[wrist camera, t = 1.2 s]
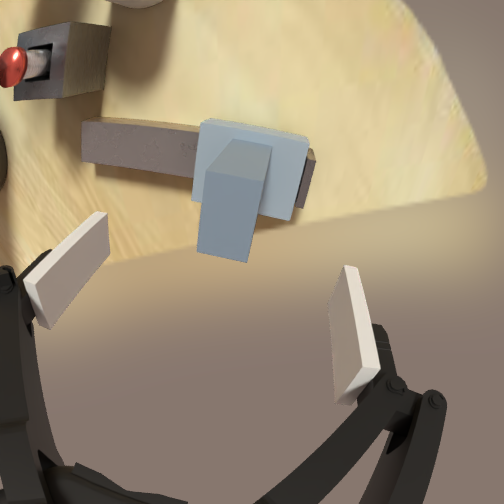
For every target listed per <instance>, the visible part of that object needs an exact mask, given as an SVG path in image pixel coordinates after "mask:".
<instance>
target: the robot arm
mask: <svg viewBox="0 0 504 504" xmlns="http://www.w3.org/2000/svg"><path fill="white" fill-rule="evenodd" d="M6 172H7V156H6V149H5V144H4V140H3V137H2V134H1V132H0V190H1V188H2V187H3V184H4V182H5V178H6ZM109 255H110V245H109V232H108V216H107V213H104V212H99V211H96V212H95V213H93V214H92V215H91V216H90V217H89V218H88V219H86V220H85V221H84V222H83V223H82V224H81V225H80V226H78V227H77V228H76V229H75V230H74V231H73V232H72V233H71V234H70V235H68V236H67V237H66V238H65V239H64V240H63V241H62V242H61V243H60V244H59V245H58V246H57V247H56V248H54V249H53V250H52V249H49V250H47V251H45V252H44V253H42V254H41V255H40V256H39V257H38V258H37V259H36V260H34V261H33V262H32V263H31V265H29V266H28V267H27V268H26V269H25V270H24V271H23V272H22V273H21V274H20V275H19V276H18V277H17V278H16V276H15V273H14V269H13V268H12V267H11V266H8V265H6V266H1V267H0V476H1V480H2V484H3V489H1V490H0V504H188V502H186V501H182V500H178V499H175V498H170V497H167V496H164V495H160V494H152V493H142V492H132V491H127V490H125V489H123V488H122V487H120V486H118V485H117V484H115V483H114V482H112V481H111V480H109V479H108V478H107V477H105V476H104V475H102V474H101V473H99V472H96V471H94V470H92V469H89V468H87V467H85V466H83V465H81V464H79V463H77V462H76V463H75V466H65V465H64V462H63V460H62V458H61V457H60V455H59V453H58V451H57V449H56V446H55V443H54V439H53V436H52V432H51V428H50V424H49V420H48V416H47V412H46V407H45V402H44V398H43V392H42V387H41V382H40V376H39V370H38V363H37V355H36V348H35V338H34V327H33V323H32V320H33V319H34V317H35V316H36V319H37V321H38V324H39V325H40V326H43V327H45V328H47V329H49V330H51V328H52V327H53V326H54V324H55V323H56V322H57V320H58V319H59V317H60V316H61V315H62V313H63V312H64V311H65V309H66V308H67V307H68V306H69V304H70V303H71V302H72V300H73V299H74V298H75V296H76V295H77V294H78V293H79V291H80V290H81V289H82V288H83V286H84V285H85V284H86V283H87V281H88V280H89V279H90V277H91V276H92V275H93V274H94V273H95V271H96V270H97V269H98V268H99V267H100V266H101V264H102V263H103V262H104V261H105V260H106V258H107V257H108V256H109ZM328 312H329V323H330V334H331V346H332V359H333V375H334V392H335V404H341V405H352V404H353V403H354V401H355V400H356V399H357V403H358V407H357V408H356V409H355V410H354V411H353V412H352V414H351V415H350V416H349V417H348V418H347V419H346V420H345V421H344V423H342V424H341V425H340V426H339V428H338V429H337V430H336V431H335V432H334V433H333V434H332V435H331V436H330V437H329V438H328V439H327V440H326V441H325V442H324V443H323V444H322V445H321V446H320V447H319V448H318V449H317V450H316V451H315V452H314V453H312V454H311V455H310V456H309V457H308V458H307V459H306V460H305V461H304V462H303V463H302V464H301V465H300V466H298V467H297V468H296V469H295V470H294V471H293V472H292V473H291V474H289V475H288V476H287V477H286V478H285V479H284V480H282V481H281V482H280V483H279V484H278V485H276V486H275V487H274V488H273V489H271V490H270V491H269V492H268V493H266V494H265V495H264V496H263V497H261V498H260V499H259V500H257V501H256V502H255V503H254V504H318V503H319V502H320V501H321V500H322V499H323V498H324V497H325V496H326V495H327V494H328V493H329V492H330V491H331V490H332V489H333V488H334V487H335V486H336V485H337V484H338V483H339V482H340V481H341V480H342V478H343V477H344V476H345V475H346V474H347V473H348V472H349V471H350V469H351V468H352V467H353V466H354V465H355V464H356V462H357V461H358V460H359V459H360V458H361V457H362V455H363V454H364V453H365V452H366V450H367V449H368V448H369V447H370V445H371V444H372V443H373V442H374V440H375V439H376V438H377V437H378V435H379V434H380V432H381V431H382V430H383V429H385V430H387V431H390V433H389V436H388V438H387V441H386V444H385V446H384V449H383V451H382V454H381V456H380V459H379V461H378V464H377V466H376V468H375V470H374V473H373V475H372V477H371V479H370V481H369V484H368V486H367V488H366V490H365V492H364V494H363V496H362V498H361V500H360V502H359V504H422V503H423V501H424V498H425V495H426V492H427V489H428V485H429V482H430V479H431V475H432V472H433V468H434V465H435V461H436V457H437V453H438V449H439V445H440V441H441V436H442V431H443V426H444V421H445V415H446V410H447V402H446V399H445V397H444V396H443V395H442V394H441V393H440V392H438V391H436V390H428V391H426V392H425V393H424V394H423V395H422V394H419V393H416V392H414V391H411V390H409V389H407V385H406V383H405V381H404V380H402V378H400V377H399V376H397V373H396V368H395V364H394V360H393V355H392V351H391V347H390V344H389V339H388V335H387V333H386V331H385V330H384V328H383V327H382V325H377V324H372V323H371V321H370V316H369V312H368V308H367V304H366V299H365V296H364V291H363V288H362V284H361V280H360V276H359V272H358V268H356V267H352V266H348V265H344V266H343V269H342V271H341V273H340V276H339V278H338V281H337V283H336V285H335V288H334V290H333V292H332V295H331V297H330V299H329V302H328Z"/></svg>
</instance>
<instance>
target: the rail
mask: <svg viewBox="0 0 504 504" xmlns="http://www.w3.org/2000/svg"><path fill="white" fill-rule="evenodd" d="M199 131H200V127H198V126H191V125H183V124H175V123H167V122H158V121H148V120H137V119H125V118H110V117H93V118H90V119H87V120H84V121H82V127H81V159H82V162H88V163H96V164H104V165H112V166H119V167H126V168H133V169H140V170H146V171H153V172H159V173H165V174H171V175H177V176H183V177H189V178H194V171H195V162H196V154H197V146H198V139H199ZM315 163H316V159H315V156H314V153H313V149H311V148H308V152H307V156H306V160H305V164H304V168H303V172H302V176H301V180H300V184H299V188H298V191H297V195H296V199H295V207H298V208H303V207H304V204H305V200H306V197H307V193H308V189H309V186H310V182H311V178H312V175H313V171H314V167H315Z"/></svg>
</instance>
